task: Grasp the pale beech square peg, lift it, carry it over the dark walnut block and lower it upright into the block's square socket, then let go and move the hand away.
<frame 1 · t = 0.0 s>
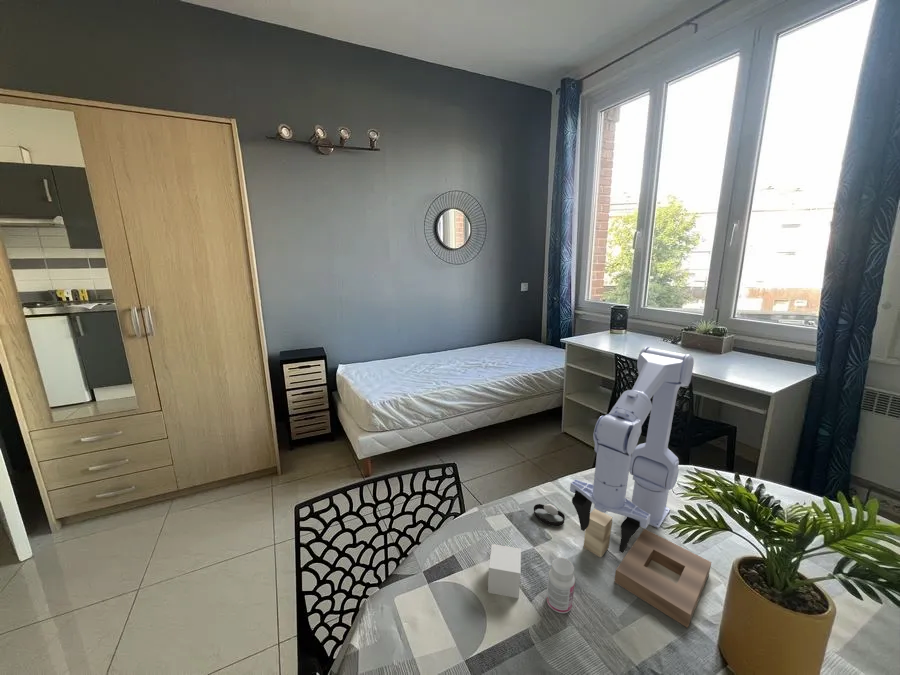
hand: (603, 538, 73), 10 cm above the table, tool pointing down, fingers open, 7 cm apart
beech peg: (596, 547, 84), on the table
socket block: (662, 578, 76), on the table
watch: (548, 520, 92), on the table
adhesive note: (504, 583, 75), on the table
pill bottle: (559, 603, 71), on the table
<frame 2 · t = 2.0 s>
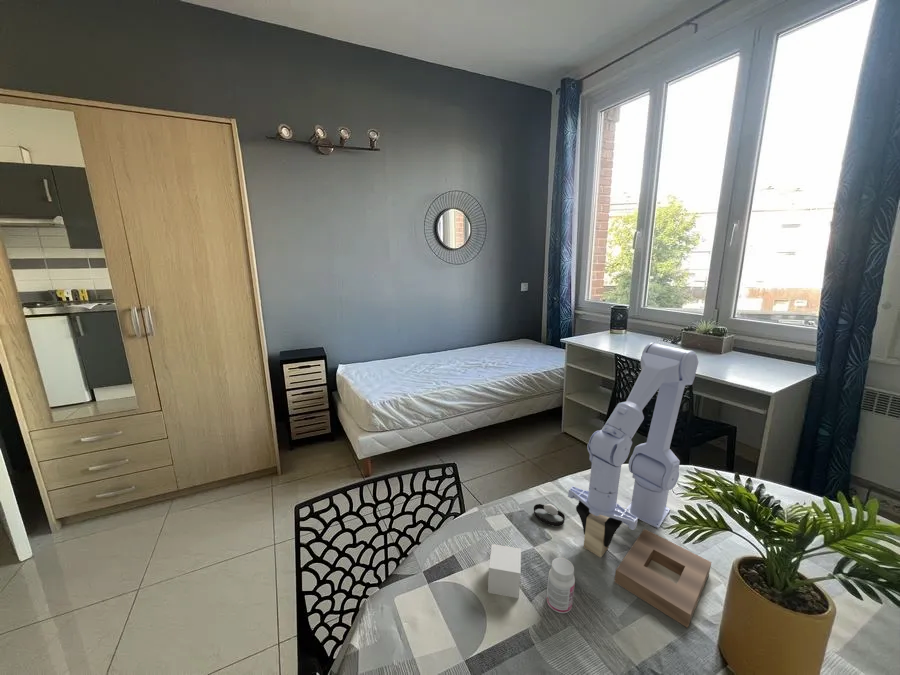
hand: (597, 538, 83), 2 cm above the table, tool pointing down, fingers closed on beech peg, 4 cm apart
beech peg: (596, 547, 84), on the table, touching gripper
everything else where it was.
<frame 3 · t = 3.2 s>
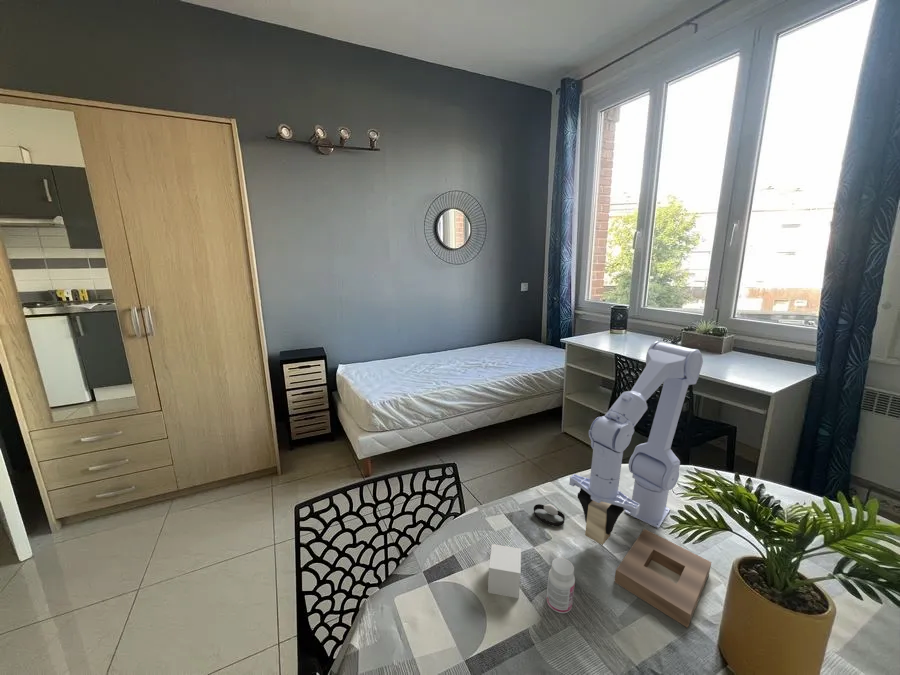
hand: (598, 526, 82), 6 cm above the table, tool pointing down, fingers closed on beech peg, 4 cm apart
beech peg: (597, 535, 83), point 3 cm above the table, touching gripper
everything else where it was.
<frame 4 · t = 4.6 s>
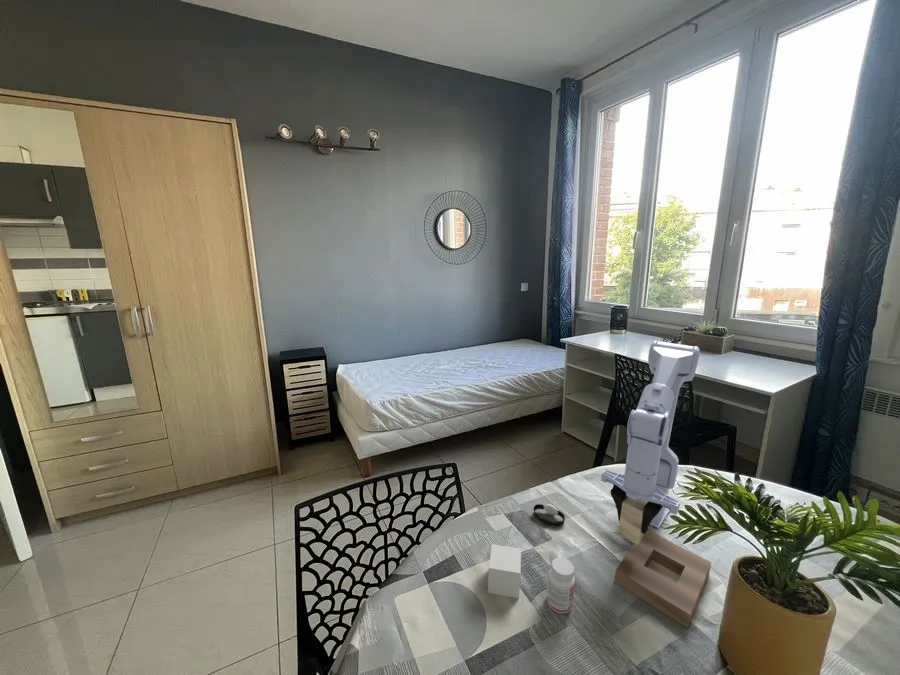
hand: (633, 524, 77), 9 cm above the table, tool pointing down, fingers closed on beech peg, 4 cm apart
beech peg: (631, 534, 78), point 7 cm above the table, touching gripper
everything else where it was.
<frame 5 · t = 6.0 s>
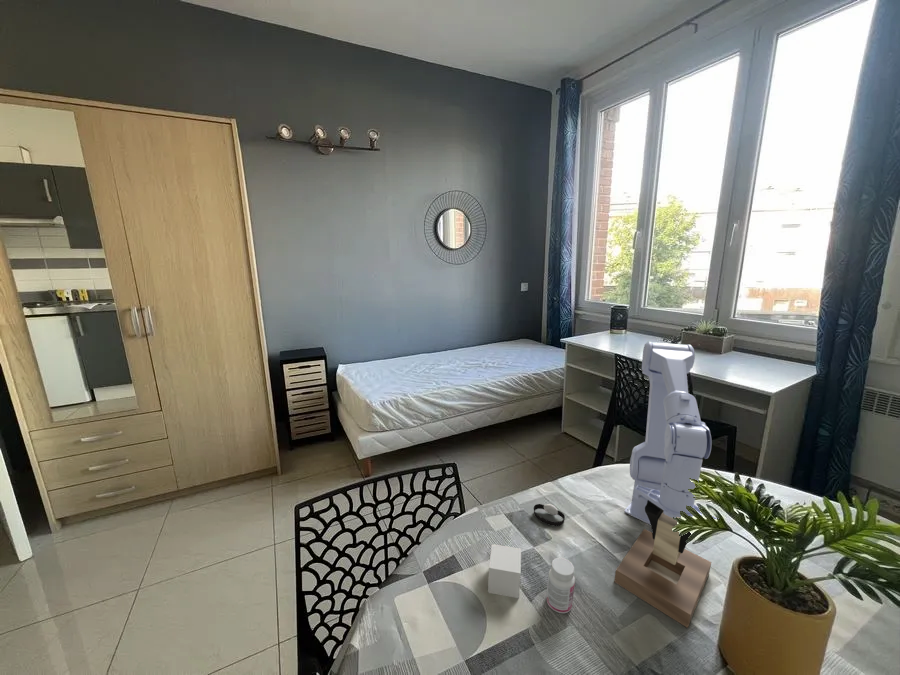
hand: (668, 543, 74), 9 cm above the table, tool pointing down, fingers closed on beech peg, 4 cm apart
beech peg: (666, 553, 74), point 6 cm above the table, touching gripper
everything else where it was.
when the fingers open (4 cm above the table, at t = 7.4 s): beech peg drops 1 cm, resting on socket block.
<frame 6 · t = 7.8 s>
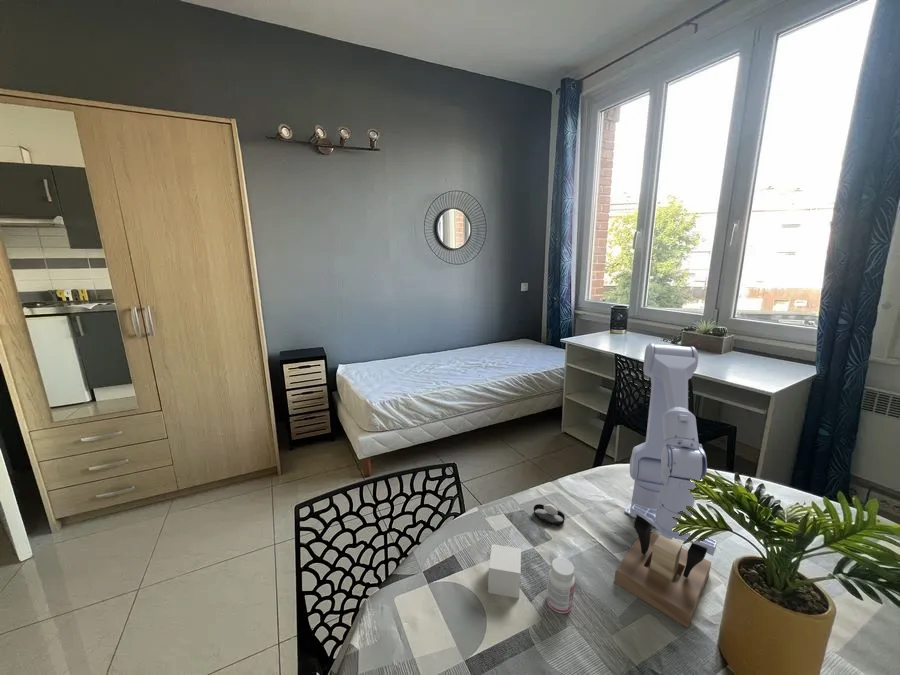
hand: (664, 562, 75), 4 cm above the table, tool pointing down, fingers open, 7 cm apart
beech peg: (662, 576, 76), resting on socket block
everything else where it was.
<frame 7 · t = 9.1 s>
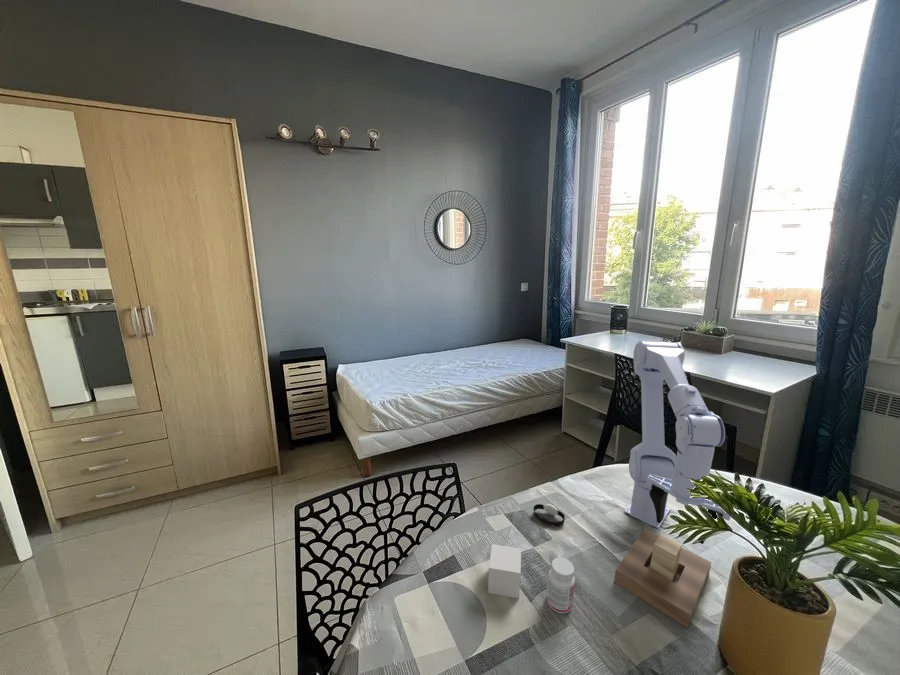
hand: (680, 530, 76), 9 cm above the table, tool pointing down, fingers open, 7 cm apart
nothing on the table moved.
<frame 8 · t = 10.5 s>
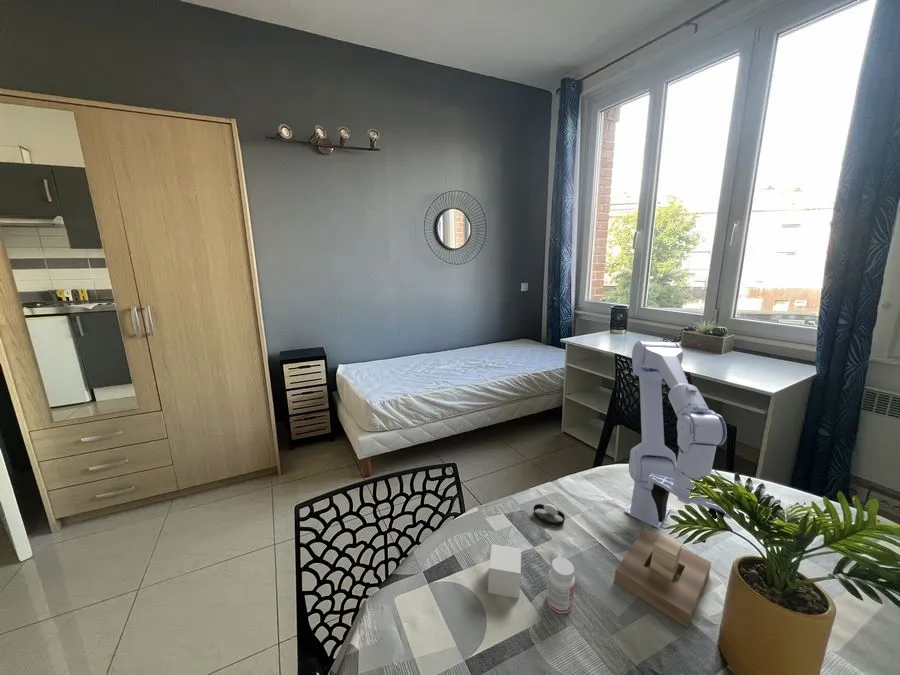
hand: (681, 529, 76), 9 cm above the table, tool pointing down, fingers open, 7 cm apart
nothing on the table moved.
at the end: beech peg 0.1 cm off-centre on the socket block, point 0.3 cm above the socket block's base; beech peg tilted 0°; the gripper is holding nothing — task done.
